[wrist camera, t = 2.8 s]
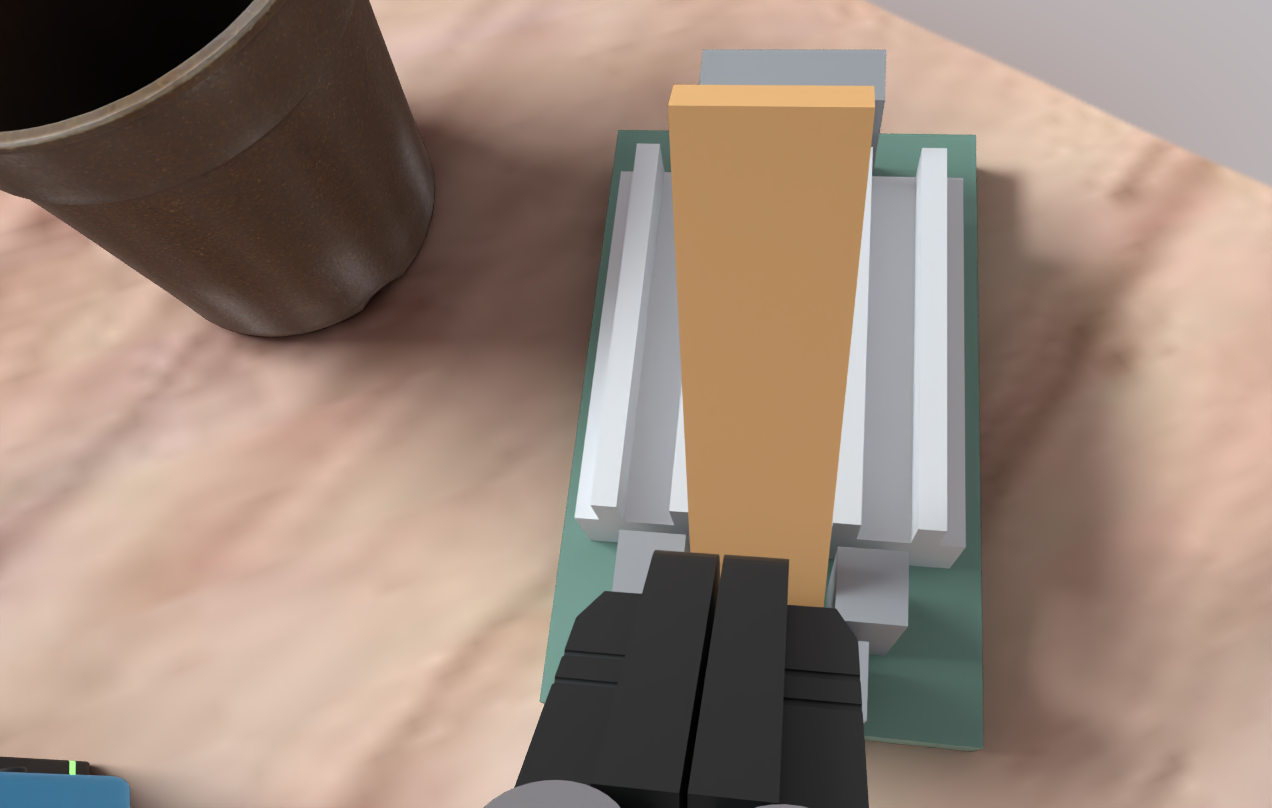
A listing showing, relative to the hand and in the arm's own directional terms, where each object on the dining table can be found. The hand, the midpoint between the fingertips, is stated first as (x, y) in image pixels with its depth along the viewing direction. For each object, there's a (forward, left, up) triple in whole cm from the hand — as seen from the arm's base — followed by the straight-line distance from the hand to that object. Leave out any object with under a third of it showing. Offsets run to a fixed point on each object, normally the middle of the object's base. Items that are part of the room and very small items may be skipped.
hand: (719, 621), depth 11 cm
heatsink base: (0, -12, -24) cm, 27 cm away
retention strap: (0, -7, -10) cm, 12 cm away
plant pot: (+21, -20, -24) cm, 38 cm away
